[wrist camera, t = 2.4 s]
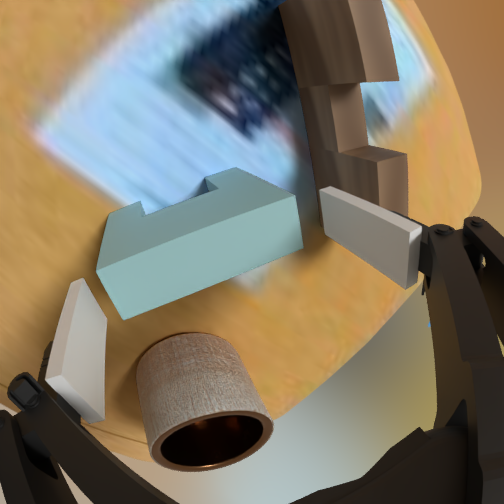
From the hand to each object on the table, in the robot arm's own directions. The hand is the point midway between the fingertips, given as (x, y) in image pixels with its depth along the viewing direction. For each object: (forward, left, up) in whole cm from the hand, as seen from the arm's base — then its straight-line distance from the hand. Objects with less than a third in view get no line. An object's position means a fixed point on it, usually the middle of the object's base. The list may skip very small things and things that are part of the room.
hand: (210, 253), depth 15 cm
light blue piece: (0, 0, -8) cm, 8 cm away
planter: (-5, -16, -8) cm, 19 cm away
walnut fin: (+13, +4, -8) cm, 16 cm away
